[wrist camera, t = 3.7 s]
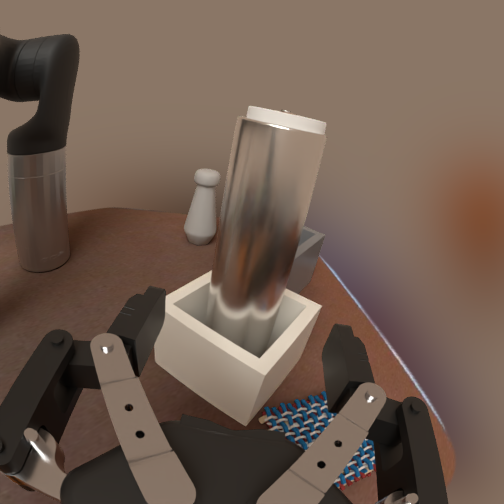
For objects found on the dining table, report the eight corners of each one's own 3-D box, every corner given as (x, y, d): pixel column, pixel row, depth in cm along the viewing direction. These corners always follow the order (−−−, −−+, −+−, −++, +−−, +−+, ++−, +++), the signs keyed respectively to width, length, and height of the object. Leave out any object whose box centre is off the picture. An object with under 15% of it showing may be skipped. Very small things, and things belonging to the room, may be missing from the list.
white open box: (155, 362, 29) (153, 302, 25) (220, 314, 38) (229, 260, 34) (245, 426, 24) (264, 375, 21) (299, 359, 33) (321, 305, 30)
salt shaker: (203, 251, 51) (213, 177, 45) (176, 240, 53) (184, 168, 47) (220, 240, 56) (231, 172, 50) (194, 230, 58) (203, 164, 52)
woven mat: (299, 510, 17) (308, 505, 16) (253, 417, 26) (257, 407, 25) (389, 465, 22) (400, 457, 21) (340, 393, 30) (347, 382, 29)
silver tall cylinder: (230, 333, 35) (276, 109, 24) (272, 365, 32) (345, 126, 20) (188, 358, 30) (221, 99, 19) (231, 397, 27) (300, 113, 16)
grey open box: (211, 278, 45) (219, 225, 41) (252, 254, 54) (261, 209, 50) (278, 314, 40) (294, 259, 36) (310, 281, 49) (325, 235, 45)
